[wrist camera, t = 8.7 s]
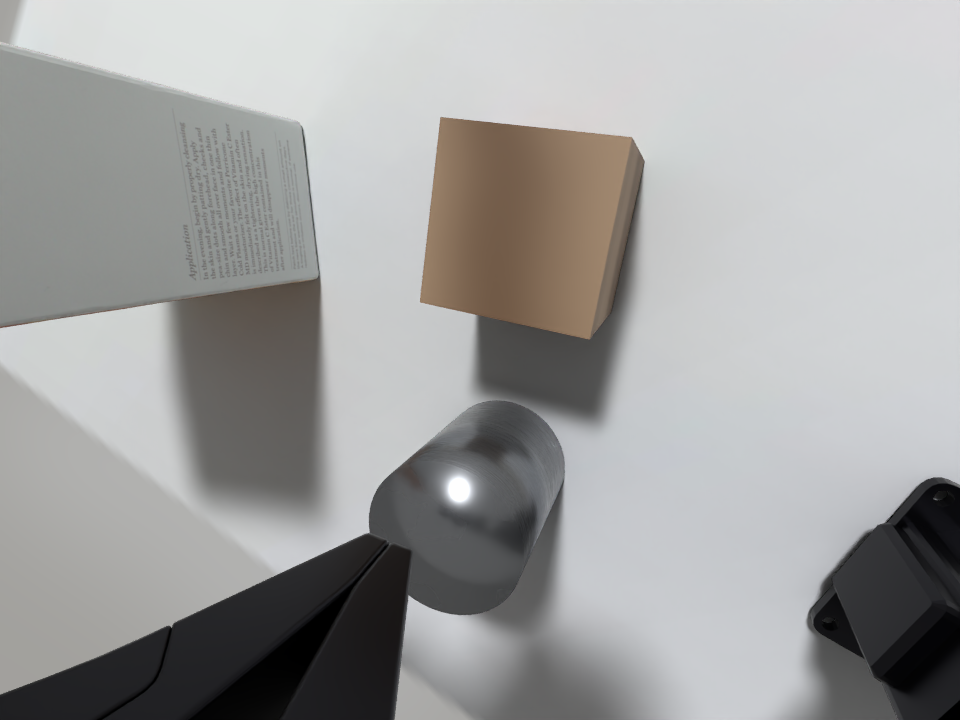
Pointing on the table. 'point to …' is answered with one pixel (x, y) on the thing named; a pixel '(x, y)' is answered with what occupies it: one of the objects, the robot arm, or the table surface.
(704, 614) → the table surface
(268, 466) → the table surface
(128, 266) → the small box
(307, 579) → the robot arm
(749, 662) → the table surface
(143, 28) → the table surface
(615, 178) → the walnut block
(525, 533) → the charcoal metal cylinder
